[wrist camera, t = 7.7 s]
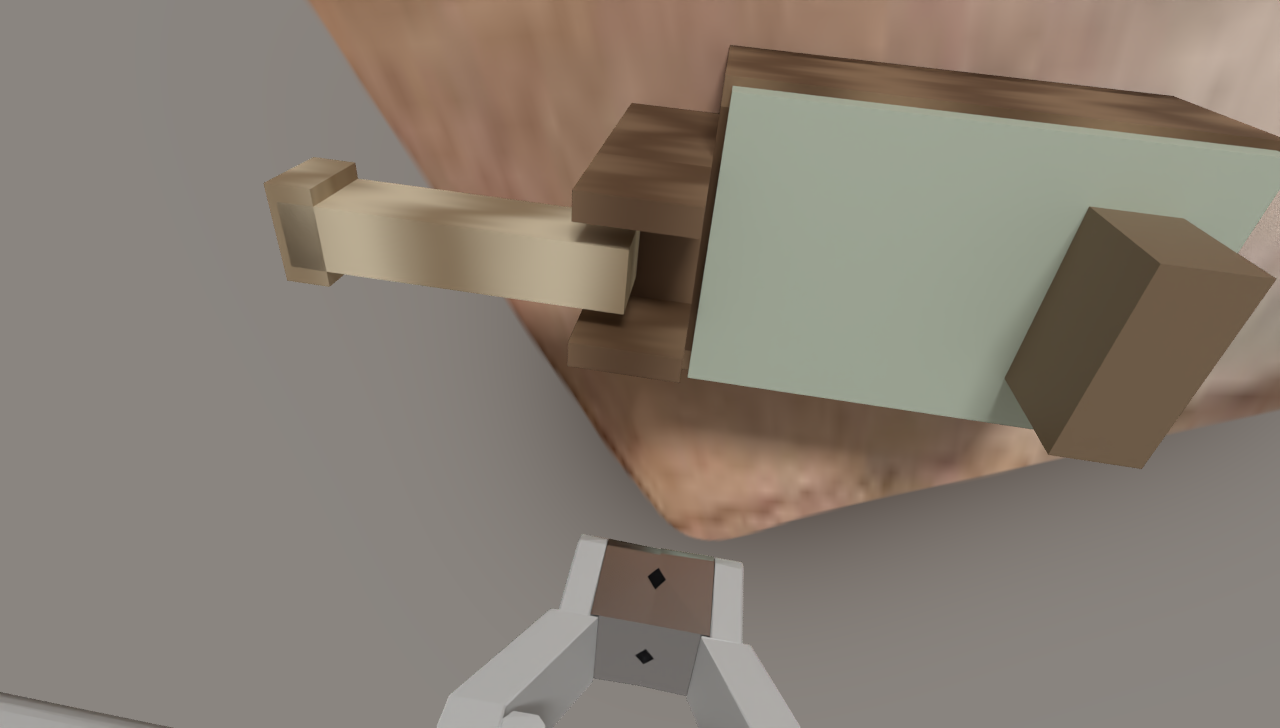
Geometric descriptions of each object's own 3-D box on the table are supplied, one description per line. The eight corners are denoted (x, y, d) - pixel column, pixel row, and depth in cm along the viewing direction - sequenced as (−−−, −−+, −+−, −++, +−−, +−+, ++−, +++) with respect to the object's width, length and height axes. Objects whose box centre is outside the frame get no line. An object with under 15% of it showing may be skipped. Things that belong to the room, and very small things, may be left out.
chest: (1173, 96, 26) (1430, 194, 16) (1044, 345, 33) (1171, 521, 23) (636, 34, 28) (575, 90, 18) (618, 284, 34) (565, 426, 25)
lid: (1256, 142, 21) (1425, 211, 16) (1092, 411, 28) (1174, 525, 23) (733, 80, 23) (728, 125, 17) (690, 352, 29) (678, 447, 24)
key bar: (643, 200, 23) (630, 233, 21) (634, 290, 25) (622, 329, 23) (313, 157, 24) (263, 182, 21) (331, 247, 26) (287, 280, 23)
